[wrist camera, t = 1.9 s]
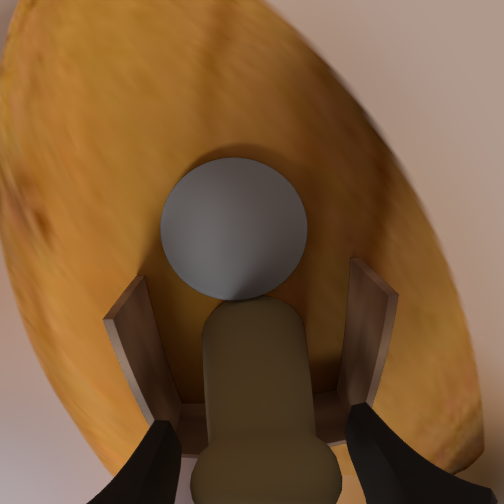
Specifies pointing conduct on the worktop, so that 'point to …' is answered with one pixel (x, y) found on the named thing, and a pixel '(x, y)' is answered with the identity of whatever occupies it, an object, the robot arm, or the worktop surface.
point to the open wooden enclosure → (325, 404)
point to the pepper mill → (260, 411)
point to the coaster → (233, 229)
